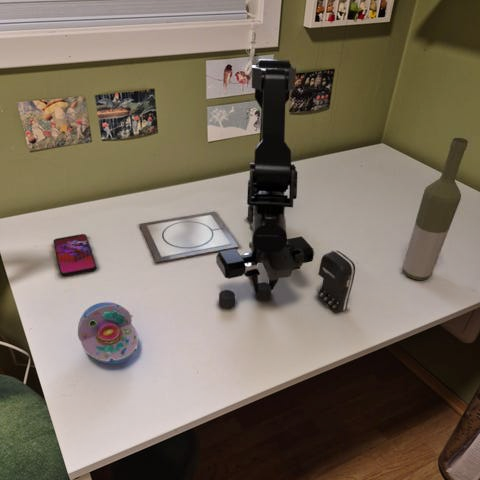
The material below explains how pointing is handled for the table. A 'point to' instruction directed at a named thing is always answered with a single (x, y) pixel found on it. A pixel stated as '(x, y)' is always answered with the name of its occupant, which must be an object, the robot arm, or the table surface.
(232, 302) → the dot
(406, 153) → the table surface
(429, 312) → the table surface
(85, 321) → the cell model
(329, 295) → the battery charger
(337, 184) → the table surface
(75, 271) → the smartphone
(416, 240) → the bottle
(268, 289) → the dot
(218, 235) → the board
